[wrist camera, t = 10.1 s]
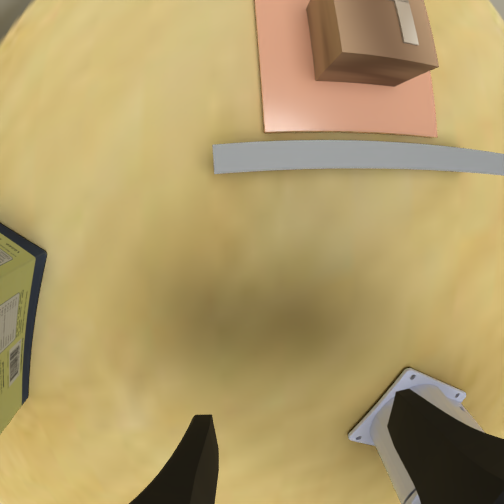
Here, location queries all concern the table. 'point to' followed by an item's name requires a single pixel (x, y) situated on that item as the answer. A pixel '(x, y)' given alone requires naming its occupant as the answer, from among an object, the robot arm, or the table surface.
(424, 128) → the terracotta tile
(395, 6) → the walnut cube
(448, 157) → the slate screen
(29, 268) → the protein box
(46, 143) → the table surface
